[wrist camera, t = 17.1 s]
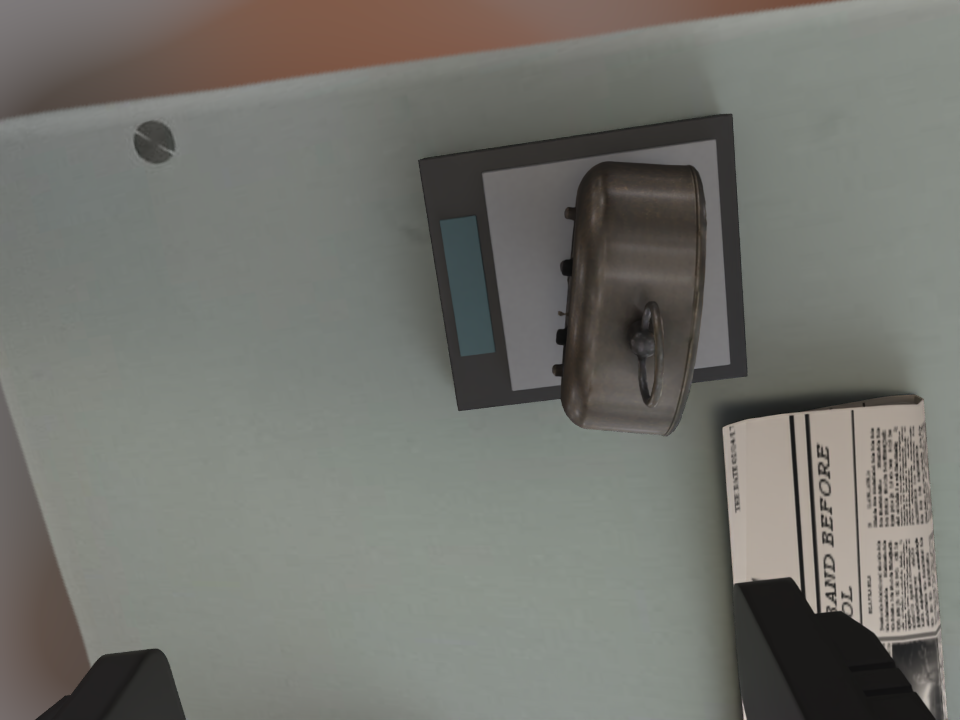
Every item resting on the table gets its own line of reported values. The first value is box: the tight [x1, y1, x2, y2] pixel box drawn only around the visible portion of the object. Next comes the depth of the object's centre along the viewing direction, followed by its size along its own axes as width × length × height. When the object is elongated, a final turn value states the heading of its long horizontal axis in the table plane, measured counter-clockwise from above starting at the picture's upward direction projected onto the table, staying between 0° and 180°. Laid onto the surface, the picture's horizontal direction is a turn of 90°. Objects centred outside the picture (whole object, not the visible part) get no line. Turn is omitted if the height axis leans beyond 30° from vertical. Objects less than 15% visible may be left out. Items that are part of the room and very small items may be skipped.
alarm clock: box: [552, 161, 707, 436], centre depth 32 cm, size 11×5×16 cm, turn 177°
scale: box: [418, 114, 747, 411], centre depth 41 cm, size 15×13×3 cm
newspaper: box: [722, 395, 948, 720], centre depth 47 cm, size 35×12×4 cm, turn 12°
